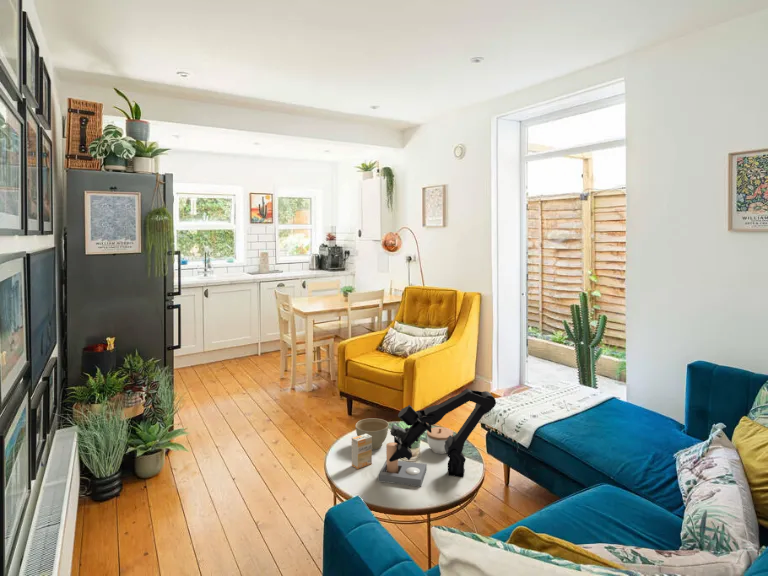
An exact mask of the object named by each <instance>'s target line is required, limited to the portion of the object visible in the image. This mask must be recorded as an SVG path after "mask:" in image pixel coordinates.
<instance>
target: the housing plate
mask: <svg viewBox="0 0 768 576" xmlns="http://www.w3.org/2000/svg"><path fill="white" fill-rule="evenodd" d="M427 466H428V465H427V463H421V462H415V461H412V462H411V461H404V460H398V474H396V473H388V472H387V459H386V460H385V462H384V464H383V466H382V467H381V469H380V470H379V473H378V482H382V483H389V484H390V483H391V484H398V485H405V486H413V487H420V488H421V487H422V484H423V481H424V478H425V476H426V474H427V471H428V469H427V468H428V467H427Z"/></svg>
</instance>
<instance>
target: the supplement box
mask: <svg viewBox="0 0 768 576" xmlns="http://www.w3.org/2000/svg"><path fill="white" fill-rule="evenodd" d="M372 456H373V449H372V436H370V435H368V434H363V435H360V436H357V435H356V436H354V437H351V466H352V467H353V468H355V469H357V470H359V469H361V468H364V467H366V466H369V465H372V464H373V462H372V461H373V457H372Z"/></svg>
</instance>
